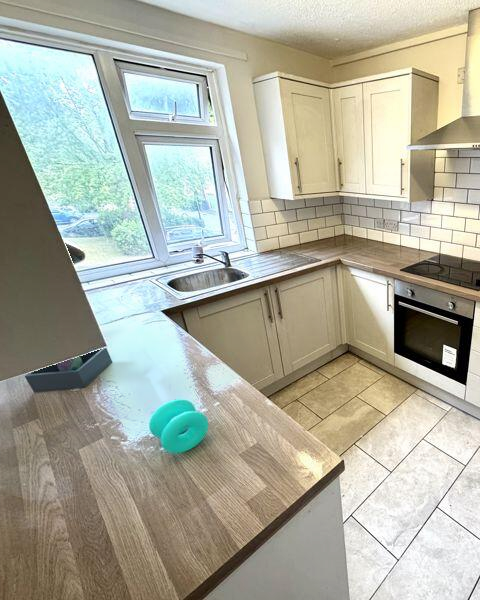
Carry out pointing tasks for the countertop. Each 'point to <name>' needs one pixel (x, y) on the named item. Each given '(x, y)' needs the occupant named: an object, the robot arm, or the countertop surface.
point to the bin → (70, 373)
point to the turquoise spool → (178, 425)
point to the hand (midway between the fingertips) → (28, 286)
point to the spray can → (70, 364)
